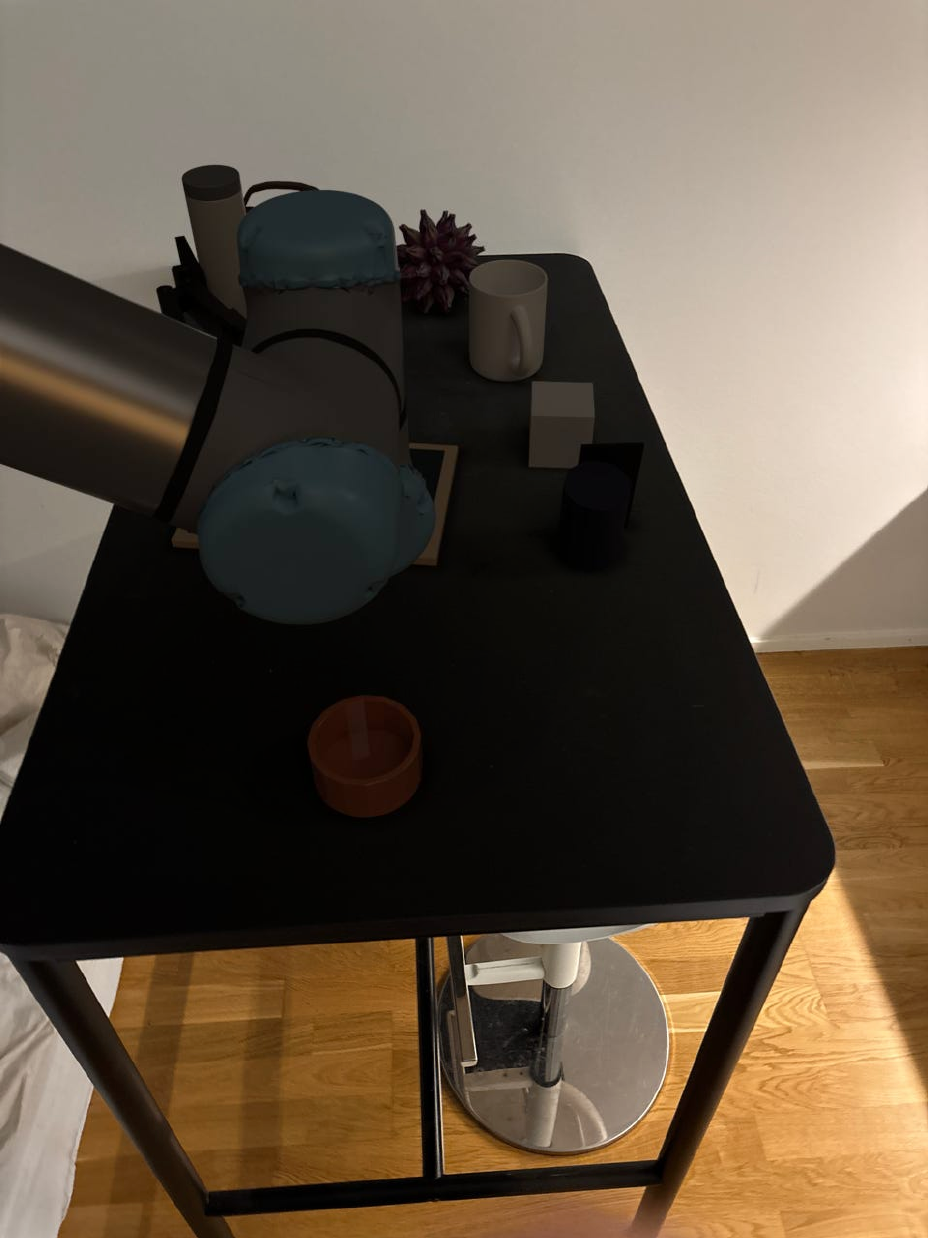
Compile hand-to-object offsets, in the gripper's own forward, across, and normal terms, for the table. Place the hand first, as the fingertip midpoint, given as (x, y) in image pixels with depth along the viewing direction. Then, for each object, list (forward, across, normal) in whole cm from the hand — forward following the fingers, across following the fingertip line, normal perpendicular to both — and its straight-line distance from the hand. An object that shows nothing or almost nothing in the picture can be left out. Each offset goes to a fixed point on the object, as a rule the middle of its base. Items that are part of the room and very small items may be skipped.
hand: (212, 247), depth 77 cm
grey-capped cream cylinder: (-5, 0, -10) cm, 12 cm away
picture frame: (-4, +5, -24) cm, 25 cm away
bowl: (-36, -1, -24) cm, 43 cm away
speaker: (-21, +25, -24) cm, 41 cm away
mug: (+9, +31, -24) cm, 40 cm away
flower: (+26, +29, -24) cm, 46 cm away
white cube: (-6, +29, -24) cm, 38 cm away
